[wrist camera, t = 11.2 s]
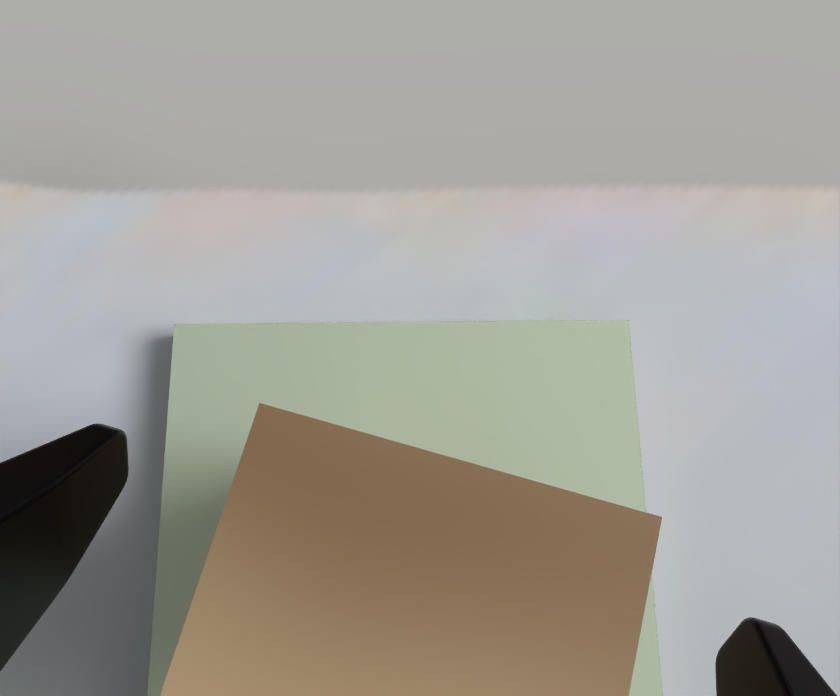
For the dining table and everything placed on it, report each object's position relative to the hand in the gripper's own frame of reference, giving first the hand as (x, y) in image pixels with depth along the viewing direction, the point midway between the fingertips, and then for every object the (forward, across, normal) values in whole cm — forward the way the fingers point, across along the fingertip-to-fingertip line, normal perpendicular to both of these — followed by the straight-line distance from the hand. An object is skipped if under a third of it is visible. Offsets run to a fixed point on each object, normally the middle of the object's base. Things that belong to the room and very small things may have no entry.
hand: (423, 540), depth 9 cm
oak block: (+4, 0, +6) cm, 7 cm away
